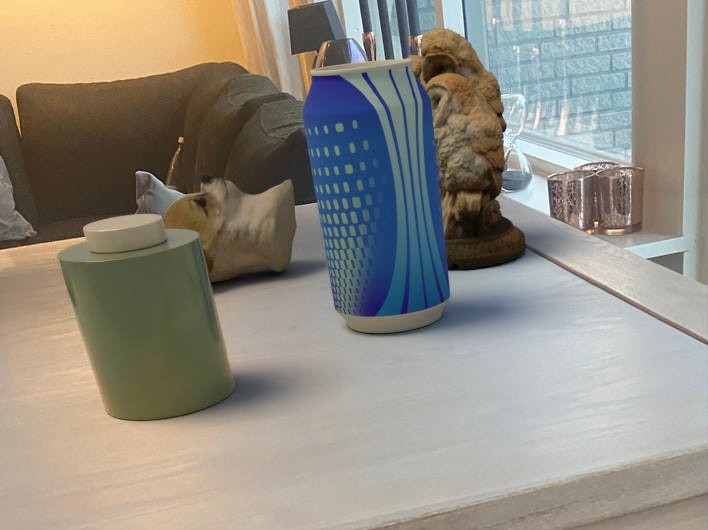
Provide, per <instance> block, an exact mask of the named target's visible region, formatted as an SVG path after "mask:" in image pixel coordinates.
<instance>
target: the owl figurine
mask: <svg viewBox="0 0 708 530" xmlns="http://www.w3.org/2000/svg"><path fill="white" fill-rule="evenodd" d="M419 49H420V55H419V54H417V55H414V54H410V55H408V57H406V58H405V59H411V60H412V61H413V65H412V70H413V71H414V73H415V75H416V76H417V78H418V79H419V81H420V82H421V84H422V85H423V87H424V89H425V90H426V92H427V93H428V95H429V97H430V99H431V105H432V116H433V126H434V136H435V146H436V156H437V166H438V176H439V186H440V196H441V206H442V216H443V226H444V236H445V246H446V256H447V266H448V270H451V269H454V265H453V264H455V265H456V267H457V268H458V269H459V270H468V269H469V270H470V269H478V268H481V267H484V266H486V267H487V266H488V267H489V266H495V265H497V264H504V263H507V262H509V261H511V260H514V259H518V258H520V257H522V256H523V255H524V254H525V252H526V249H527V242H526V236H525V233H524V231H523V230H522V229H521V228H519V227H518V226H516V225H514V222H513V221H512V220H510V219H509V218H507V217H505V216H504V215H503V213H502V212H501V204H500V201H498V200H497V197H499V196H500V195H501V194H502V189H503V172H504V171H505V166H506V157H505V152H504V149H505V148H504V144H503V134H504V133H505V132H506V131H507V128H508V125H507V122H506V120H505V118H504V116H503V114H504V111H505V106H504V103H503V102H502V91H501V87H500V83H499V81H498V79H497V77H496V76H495V75H494V74H495V73H493V72H491V71H489V70H487V69H486V68H485V66H484V64H483V62H482V61H481V60H480V58H479V55H478V53H477V51H476V50H475V48H474V47H473V46H472V43H471V42H470V41H468V39H466V38H465V36H463V35H461V34H460V33H458V32H456V31H454V30H452V29H450V28H445V27H444V28H443V27H442V28H432V29H430V30H428V31H426V32H425V33H423V35H422V37H421V38H420V42H419Z"/></svg>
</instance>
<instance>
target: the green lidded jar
mask: <svg viewBox="0 0 708 530" xmlns="http://www.w3.org/2000/svg"><path fill="white" fill-rule="evenodd" d="M163 218H164V216H162V215H160V214H156V213H137V214H135V213H134V214H126V215H120V216H119V215H118V216H114V217H109V218H105V219H104V218H103V219H100V220H97V221H96V220H95V221H93V222H90V223H88V224H86V225H84V226H83V228H82V231H83V235H84V238H85V241H83V242H79V243H76V244H73V245H70V246H68V247H65V248H63V249H62V250H60V251H59V252H58V253H57V254H56V260H57V263H58V266H59V270H60V273H61V275H62V279H63V283H64V285H65V289H66V292H67V295H68V298H69V301H70V305H71V307H72V311H73V313H74V317H75V320H76V323H77V326H78V329H79V332H80V336H81V339H82V342H83V344H84V348H85V351H86V355H87V357H88V361H89V363H90V367H91V370H92V373H93V377H94V379H95V382H96V386H97V389H98V393H99V395H100V399H101V401H102V404H103V409H104V411H105V412H106V413H107V414H108V415H109V416H111V417H113V418H116V419H122V420H127V421H151V420H161V419H162V420H163V419H168V418H175V417H179V416H184V415H187V414H192V413H195V412H199V411H201V410H203V409H206V408H209V407H211V406H214V405H216V404H218V403H220V402H222V401H223V400H225V399H226V398H228V397H229V396H230V395H232V393H233V392H234V390H235V387H236V382H235V379H234V375H233V370H232V366H231V362H230V358H229V354H228V349H227V344H226V340H225V336H224V332H223V329H222V323H221V320H220V319H221V318H220V315H219V311H218V307H217V303H216V299H215V295H214V290H213V286H212V282H211V281H210V277H209V273H208V268H207V264H206V260H205V256H204V251H203V247H202V243H201V239H200V235H199V233H198V232H196V231H193V230H187V229H165V225H164V221H163Z"/></svg>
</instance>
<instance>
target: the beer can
mask: <svg viewBox="0 0 708 530" xmlns="http://www.w3.org/2000/svg"><path fill="white" fill-rule="evenodd" d="M412 65H413V61H412V60H411V59H406V58H397V59H395V58H394V59H393V58H392V59H381V60H369V61H359V62H351V63H344V64H335V65H334V64H333V65H327V66H322V67H316V68H312V69H310V70H309V74H310V76H311V78H312V80H311V83H310V87H309V90H308V92H307V96H306V99H305V101H304V104H303V108H302V120H303V121H302V122H303V126H304V133H305V139H306V144H307V145H306V146H307V150H308V157H309V164H310V169H311V174H312V180H313V186H314V192H315V198H316V199H315V200H316V204H317V210H318V217H319V223H320V228H321V235H322V240H323V247H324V252H325V258H326V265H327V271H328V277H329V282H330V288H331V294H332V295H331V296H332V300H333V306H334V310H335V312H337V314H339V315H340V316H341V317H342V318H343V319H344V321H345V322H346V324H347V326H348V328H350V329H351V330H353V331H355V332H360V333H367V334H368V333H369V334H392V333H400V332H406V331H412V330H417V329H420V328H423V327H426V326H428V325H431V324H433V323H435V322H437V321H439V320H440V319H441V317H442V315H443V311H444V308H445V306H446V304H447V303H448V302H449V300H450V298H451V288H450V277H449V269H448V266H447V256H446V246H445V236H444V226H443V216H442V206H441V196H440V186H439V176H438V166H437V156H436V146H435V136H434V126H433V116H432V105H431V99H430V97H429V95H428V93H427V92H426V90H425V89H424V87H423V85H422V84H421V82H420V81H419V79H418V78H417V76H416V75H415V73H414V71H413V70H412Z"/></svg>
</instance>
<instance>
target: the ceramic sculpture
mask: <svg viewBox="0 0 708 530" xmlns="http://www.w3.org/2000/svg"><path fill="white" fill-rule="evenodd" d="M163 221H164V225H165V229H187V230H193V231H196V232H198V233H199V235H200V239H201V243H202V247H203V251H204V256H205V260H206V264H207V268H208V273H209V277H210V281H211V283H219V282H224V281H228V280H231V279H233V278H235V277H237V276H238V275H240V274H242V273H243V272H246V271H248V270H250V269H253V268H258V267H263V268H267V269H269V270H272V271H274V272H277V273H282V272H284V271H286V270H287V269H288V268H289V266H290V265H291V262H292V255H293V245H294V239H295V236H296V235H295V234H296V231H297V228H298V225H297V219H296V202H295V194H294V184H293V181H292V180H291V179H290V178H288V179H286V180H284V181H283V182H282V183H280V184H278V185H275V186H273V187H271V188H269V189H267V190H266V191H264V192H262V193H257V194H249V193H247V192H243V191H242V190H241V189H239V188H238V187H237V186H236V184H235V183H233V182H232V181H229V180H227V179H223V177H220V176H211V175H208V174H203V175H201V178H200V191H199V192H195V193H187V194H184V195H181V196H179V197H177V198H176V199H174V200H173V201H172V203H171V204H170V205H169V206H168V207H167V209H166V211H165V213H164V215H163Z"/></svg>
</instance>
